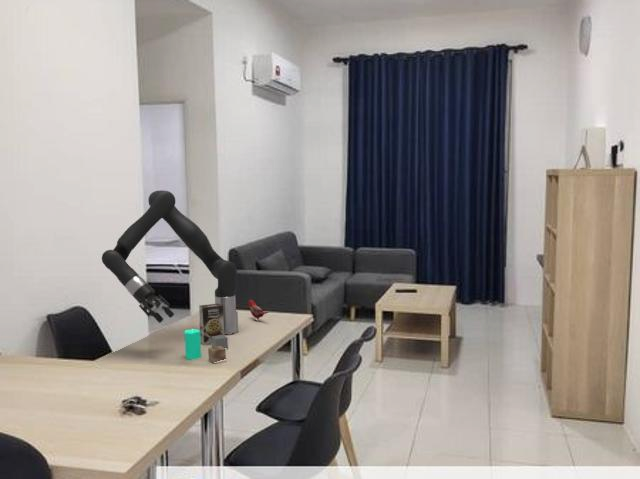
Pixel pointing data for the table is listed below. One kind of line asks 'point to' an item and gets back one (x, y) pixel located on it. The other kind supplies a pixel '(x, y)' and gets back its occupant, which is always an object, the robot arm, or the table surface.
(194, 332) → the candle
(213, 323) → the coffee box
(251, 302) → the decorative bird figurine
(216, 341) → the gray cube
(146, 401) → the table surface
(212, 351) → the walnut block
